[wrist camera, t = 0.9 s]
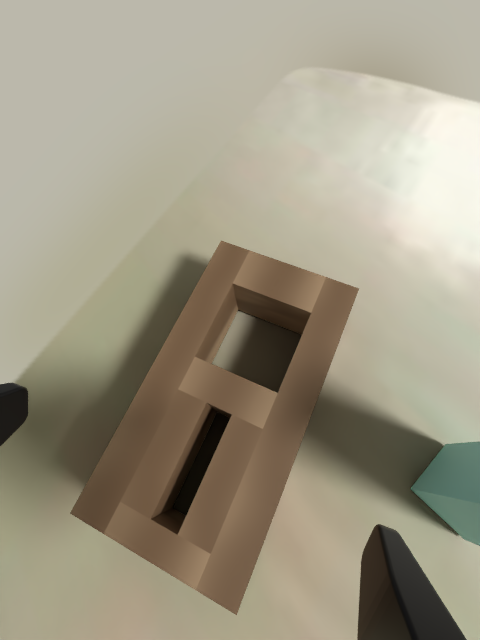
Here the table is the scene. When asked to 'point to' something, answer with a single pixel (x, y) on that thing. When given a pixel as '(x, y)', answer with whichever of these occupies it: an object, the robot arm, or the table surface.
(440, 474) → the teal square peg
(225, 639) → the table surface
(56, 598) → the table surface
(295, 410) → the bore block
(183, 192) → the table surface
